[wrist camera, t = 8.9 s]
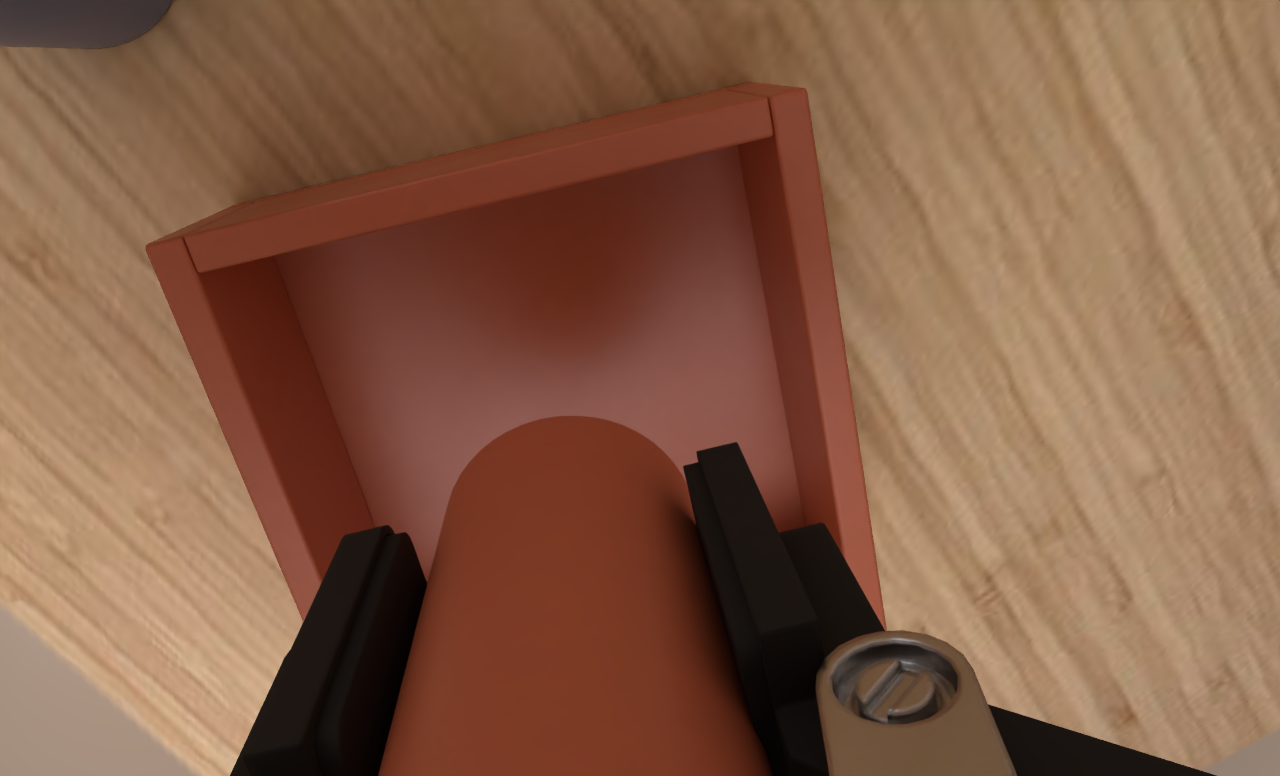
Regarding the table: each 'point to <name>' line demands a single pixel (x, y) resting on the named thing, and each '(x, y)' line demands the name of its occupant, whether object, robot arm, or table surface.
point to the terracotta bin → (530, 321)
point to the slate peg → (77, 22)
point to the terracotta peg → (571, 621)
